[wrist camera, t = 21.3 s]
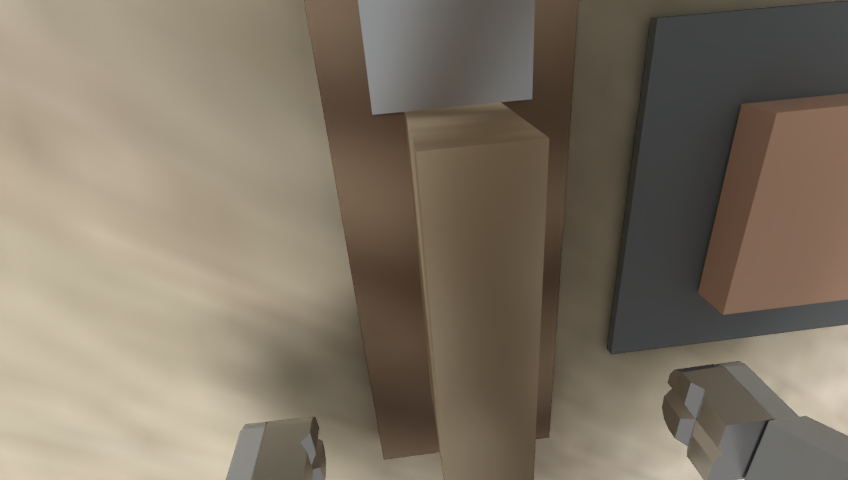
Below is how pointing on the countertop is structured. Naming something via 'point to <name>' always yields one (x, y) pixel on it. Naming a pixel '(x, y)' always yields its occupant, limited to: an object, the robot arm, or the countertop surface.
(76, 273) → the countertop surface
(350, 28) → the board
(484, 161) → the scraper
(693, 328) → the mat
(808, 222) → the tile
